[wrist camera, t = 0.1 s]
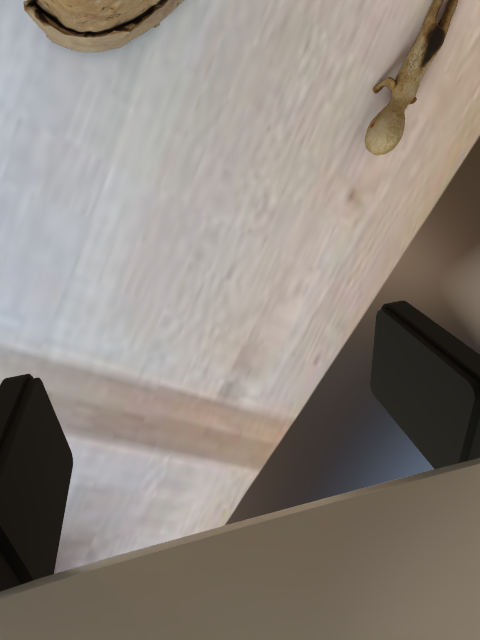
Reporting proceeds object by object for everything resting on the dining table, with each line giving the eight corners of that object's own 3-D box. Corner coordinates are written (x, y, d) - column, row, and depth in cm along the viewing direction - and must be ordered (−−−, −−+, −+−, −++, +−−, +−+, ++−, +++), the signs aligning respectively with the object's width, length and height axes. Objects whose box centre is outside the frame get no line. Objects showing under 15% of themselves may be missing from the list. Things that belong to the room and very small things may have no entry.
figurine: (415, -7, 37) (344, 147, 39) (456, -33, 33) (374, 141, 35) (441, 19, 39) (371, 166, 40) (483, -3, 35) (403, 162, 36)
